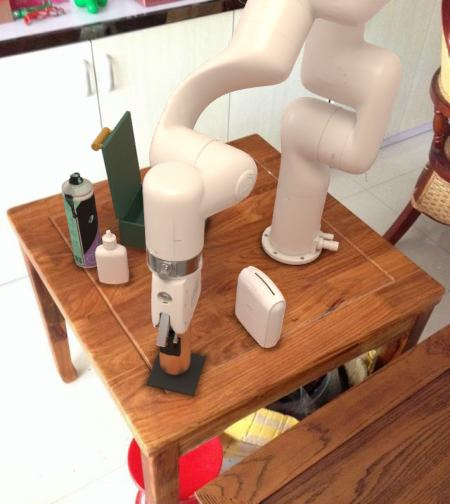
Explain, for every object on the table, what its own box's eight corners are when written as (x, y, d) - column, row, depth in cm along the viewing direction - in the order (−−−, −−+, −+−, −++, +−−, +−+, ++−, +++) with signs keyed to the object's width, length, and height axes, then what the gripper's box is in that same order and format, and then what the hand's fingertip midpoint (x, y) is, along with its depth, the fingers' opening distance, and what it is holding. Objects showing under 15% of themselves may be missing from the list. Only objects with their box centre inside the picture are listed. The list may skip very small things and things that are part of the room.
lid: (130, 111, 106) (107, 109, 106) (104, 147, 97) (80, 144, 98) (141, 181, 117) (121, 179, 118) (120, 219, 108) (97, 217, 109)
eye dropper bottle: (108, 267, 109) (102, 219, 100) (133, 277, 108) (128, 229, 99) (95, 281, 107) (87, 233, 98) (120, 291, 105) (114, 244, 96)
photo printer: (230, 313, 103) (235, 265, 94) (250, 305, 105) (256, 256, 96) (262, 352, 97) (270, 305, 88) (282, 343, 99) (292, 295, 90)
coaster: (205, 357, 96) (205, 356, 96) (193, 396, 91) (193, 395, 90) (160, 347, 97) (160, 346, 97) (146, 385, 91) (146, 384, 91)
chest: (208, 220, 121) (209, 196, 116) (192, 260, 112) (192, 236, 107) (141, 207, 122) (140, 183, 117) (120, 246, 114) (118, 221, 109)
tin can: (194, 353, 93) (195, 307, 85) (185, 377, 90) (186, 332, 81) (165, 347, 94) (163, 300, 85) (156, 371, 90) (153, 325, 82)
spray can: (101, 270, 109) (88, 185, 94) (72, 268, 108) (55, 183, 94) (105, 251, 112) (94, 166, 98) (78, 249, 112) (62, 164, 97)
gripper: (184, 304, 68) (183, 389, 81) (217, 218, 79) (212, 305, 92) (125, 291, 69) (134, 377, 82) (166, 208, 80) (168, 295, 93)
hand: (175, 338), depth 87 cm, fingers closed on tin can, 5 cm apart
